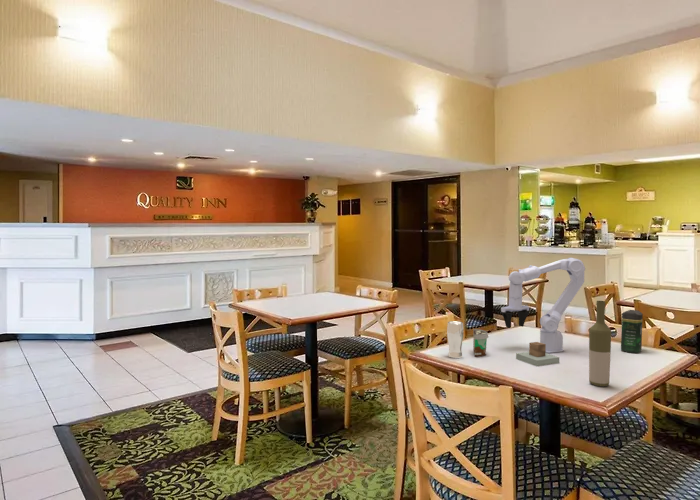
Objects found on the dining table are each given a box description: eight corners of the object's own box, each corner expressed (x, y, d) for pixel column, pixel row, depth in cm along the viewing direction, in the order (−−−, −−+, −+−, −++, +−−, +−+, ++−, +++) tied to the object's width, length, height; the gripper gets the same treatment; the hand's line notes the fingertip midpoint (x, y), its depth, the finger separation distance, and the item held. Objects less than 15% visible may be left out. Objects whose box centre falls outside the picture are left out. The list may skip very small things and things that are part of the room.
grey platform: (537, 357, 207) (537, 350, 207) (559, 364, 196) (559, 357, 196) (516, 360, 203) (516, 353, 203) (536, 367, 192) (537, 360, 192)
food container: (489, 358, 204) (489, 335, 204) (474, 357, 205) (474, 334, 205) (487, 350, 216) (487, 329, 216) (473, 350, 217) (473, 328, 217)
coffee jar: (639, 354, 209) (640, 312, 208) (619, 351, 214) (620, 310, 213) (643, 350, 216) (644, 309, 215) (623, 347, 221) (624, 308, 220)
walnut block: (537, 353, 203) (537, 341, 202) (545, 355, 198) (545, 344, 198) (529, 354, 201) (529, 342, 200) (537, 357, 197) (537, 345, 196)
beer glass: (466, 356, 207) (466, 322, 206) (458, 359, 202) (458, 324, 201) (452, 353, 212) (452, 320, 211) (443, 356, 207) (444, 322, 206)
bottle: (589, 386, 167) (590, 302, 166) (587, 380, 174) (588, 299, 172) (611, 388, 165) (613, 303, 163) (608, 382, 171) (610, 300, 170)
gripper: (521, 295, 224) (520, 324, 225) (497, 296, 219) (496, 326, 220) (532, 297, 218) (531, 327, 219) (507, 299, 213) (506, 329, 213)
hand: (514, 326), depth 219 cm, fingers open, 7 cm apart
